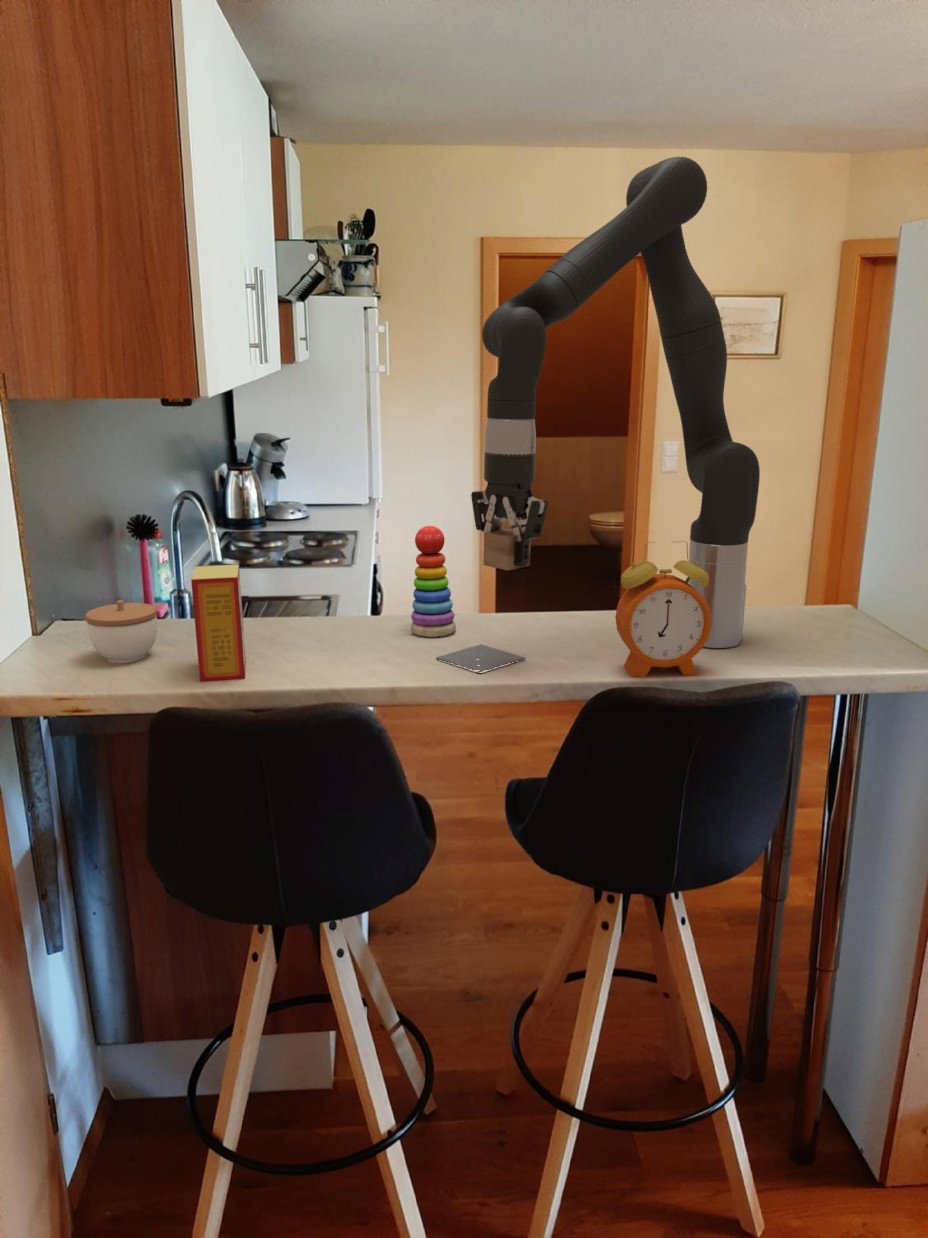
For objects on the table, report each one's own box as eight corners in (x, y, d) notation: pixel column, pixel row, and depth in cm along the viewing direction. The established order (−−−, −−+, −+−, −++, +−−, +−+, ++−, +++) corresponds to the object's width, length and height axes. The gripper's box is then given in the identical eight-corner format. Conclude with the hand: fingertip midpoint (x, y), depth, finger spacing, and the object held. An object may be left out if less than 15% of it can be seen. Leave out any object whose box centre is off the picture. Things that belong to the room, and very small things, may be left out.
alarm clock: (622, 678, 140) (627, 546, 134) (613, 665, 145) (618, 538, 140) (709, 676, 140) (718, 545, 135) (696, 663, 146) (704, 537, 141)
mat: (481, 646, 155) (481, 644, 155) (525, 659, 148) (525, 657, 148) (436, 659, 149) (436, 657, 149) (479, 674, 142) (479, 671, 142)
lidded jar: (111, 672, 144) (104, 613, 141) (78, 658, 151) (71, 602, 148) (173, 656, 151) (168, 600, 149) (139, 643, 158) (134, 589, 156)
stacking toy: (458, 626, 167) (457, 522, 162) (453, 639, 160) (452, 530, 154) (414, 625, 168) (412, 521, 163) (407, 638, 160) (404, 530, 155)
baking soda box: (203, 662, 148) (195, 563, 144) (245, 659, 149) (238, 561, 145) (200, 682, 139) (191, 577, 135) (245, 678, 140) (237, 575, 136)
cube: (505, 560, 146) (506, 528, 144) (529, 565, 142) (531, 533, 141) (483, 564, 142) (484, 532, 141) (507, 570, 139) (508, 537, 138)
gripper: (563, 452, 135) (558, 567, 140) (492, 444, 145) (490, 552, 150) (529, 455, 130) (524, 574, 135) (458, 447, 140) (456, 558, 145)
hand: (506, 562), depth 142 cm, fingers closed on cube, 5 cm apart
